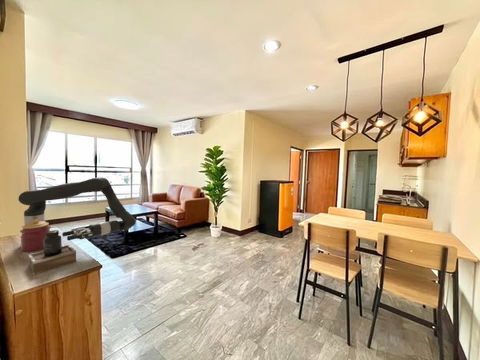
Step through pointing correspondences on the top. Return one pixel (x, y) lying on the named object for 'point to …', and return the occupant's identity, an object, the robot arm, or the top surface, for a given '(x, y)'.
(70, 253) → the open rectangular tray
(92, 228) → the robot arm
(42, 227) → the canister
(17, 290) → the top surface
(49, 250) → the supplement bottle
